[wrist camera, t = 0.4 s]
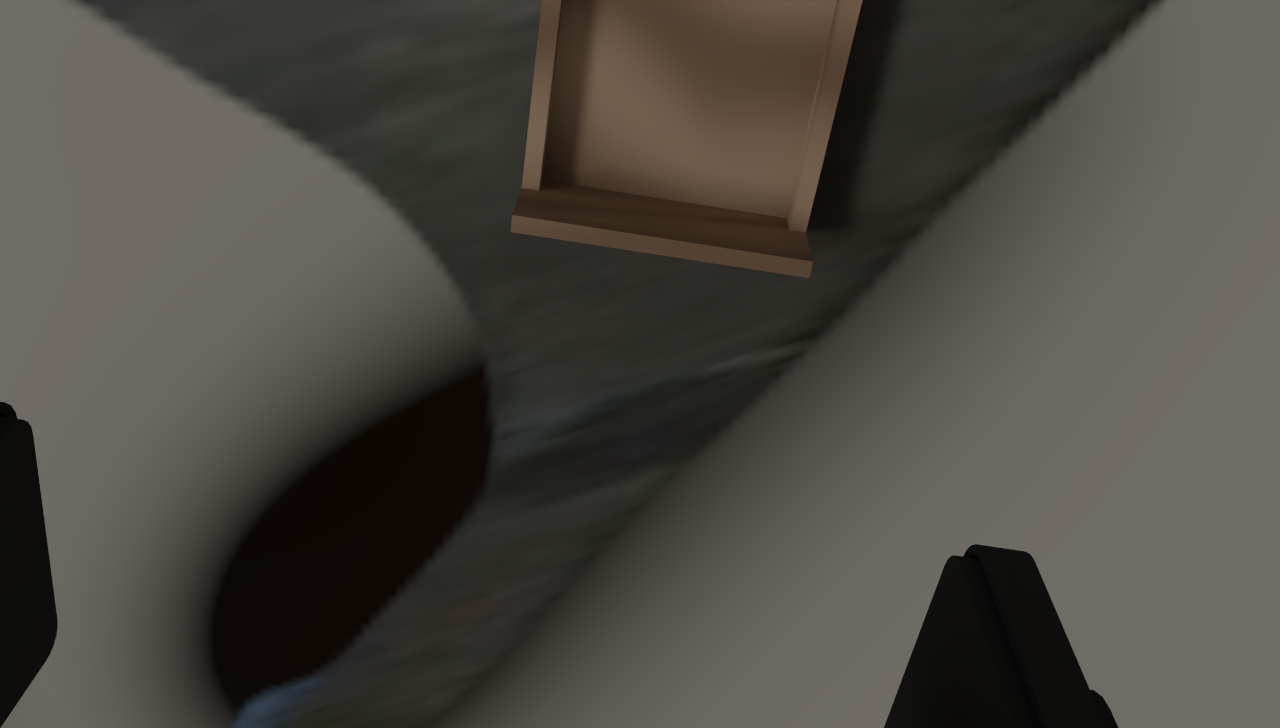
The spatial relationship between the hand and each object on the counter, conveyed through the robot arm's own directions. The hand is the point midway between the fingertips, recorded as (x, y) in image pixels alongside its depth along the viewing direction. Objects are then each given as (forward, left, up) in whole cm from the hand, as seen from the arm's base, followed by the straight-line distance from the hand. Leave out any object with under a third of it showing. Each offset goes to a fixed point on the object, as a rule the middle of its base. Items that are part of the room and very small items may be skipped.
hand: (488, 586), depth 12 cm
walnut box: (0, +3, -29) cm, 29 cm away
